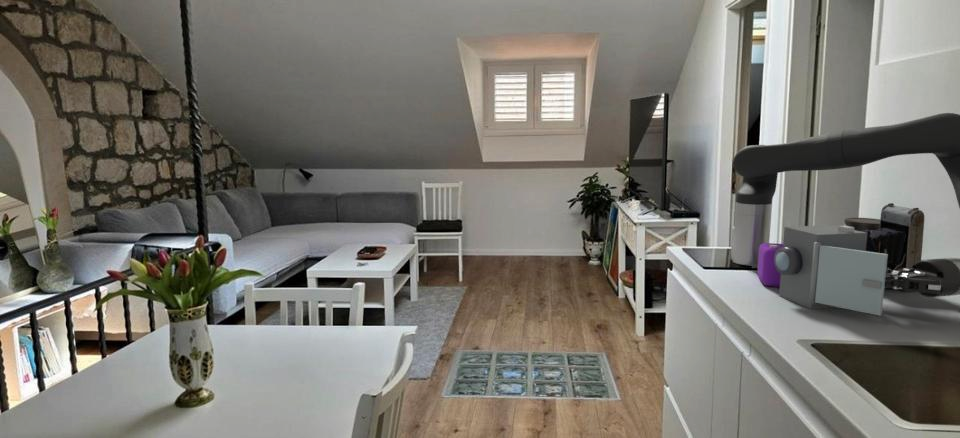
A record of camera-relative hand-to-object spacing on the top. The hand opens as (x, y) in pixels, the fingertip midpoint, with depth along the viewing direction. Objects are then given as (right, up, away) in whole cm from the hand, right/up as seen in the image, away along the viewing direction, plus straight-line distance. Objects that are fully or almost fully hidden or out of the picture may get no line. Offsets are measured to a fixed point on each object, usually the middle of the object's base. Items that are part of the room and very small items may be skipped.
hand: (872, 282), depth 115 cm
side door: (-4, -6, +4) cm, 8 cm away
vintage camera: (+17, -4, +26) cm, 31 cm away
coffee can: (+24, -2, +40) cm, 47 cm away
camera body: (-3, -6, +15) cm, 16 cm away
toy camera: (-3, -3, +31) cm, 31 cm away
